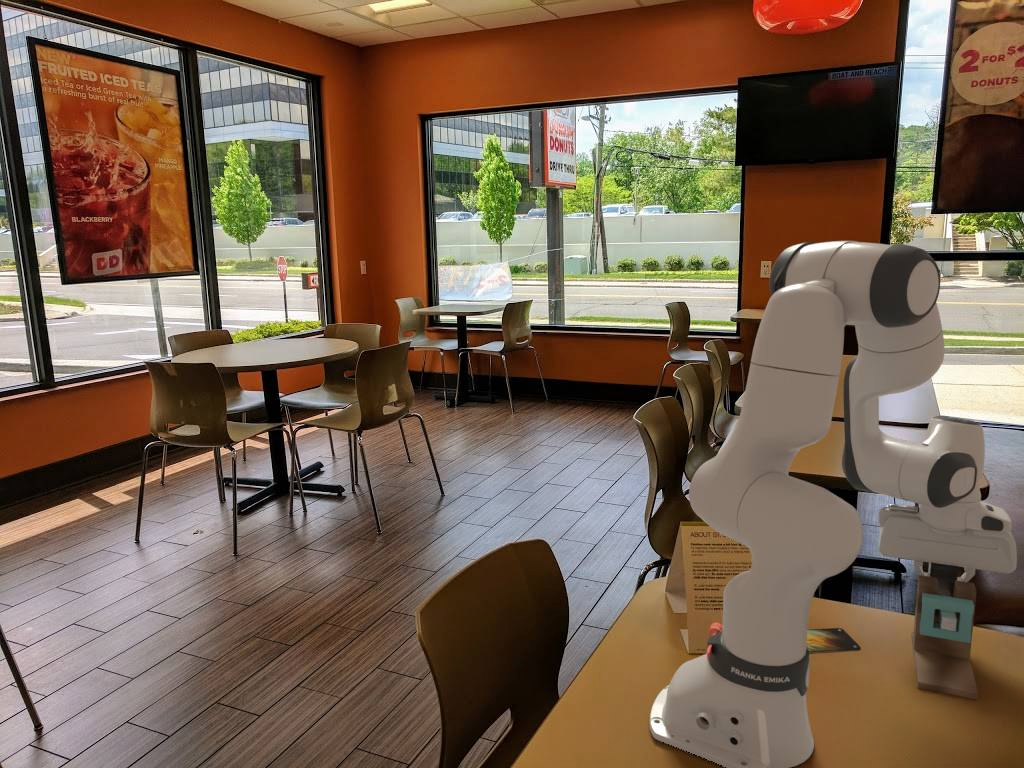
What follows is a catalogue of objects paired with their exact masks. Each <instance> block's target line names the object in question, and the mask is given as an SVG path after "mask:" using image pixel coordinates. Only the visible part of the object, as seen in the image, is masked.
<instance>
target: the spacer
mask: <svg viewBox="0 0 1024 768" xmlns="http://www.w3.org/2000/svg"><path fill="white" fill-rule="evenodd" d="M935 609H940V610H946V611H953V612H959V614H958V625H957V626H956V631H951V630H945V629H941V627H940V623H934V611H935ZM973 612H974V604H973V601H972V600H967V599H960V598H954V597H947V596H941V595H934V594H927V593H922V613H921V620H920V628H919V629H920V634H921V635H927V636H932V637H938V638H944V639H950V640H955V641H961V642H967V643H970V642H971V624H972V615H973ZM974 613H975V612H974ZM971 643H972V642H971Z"/></svg>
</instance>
